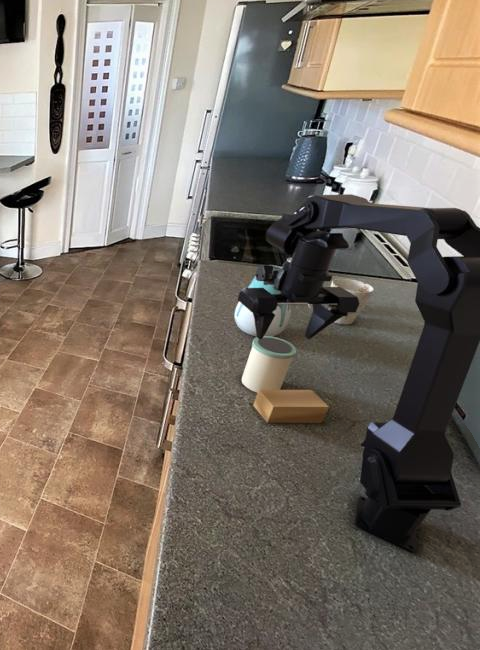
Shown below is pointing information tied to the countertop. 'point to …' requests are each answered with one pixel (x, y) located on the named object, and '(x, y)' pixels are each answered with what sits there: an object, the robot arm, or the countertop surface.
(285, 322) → the vase
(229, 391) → the countertop surface
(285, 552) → the countertop surface
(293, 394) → the block
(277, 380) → the cream cylindrical canister
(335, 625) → the countertop surface
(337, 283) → the mug
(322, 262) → the robot arm
